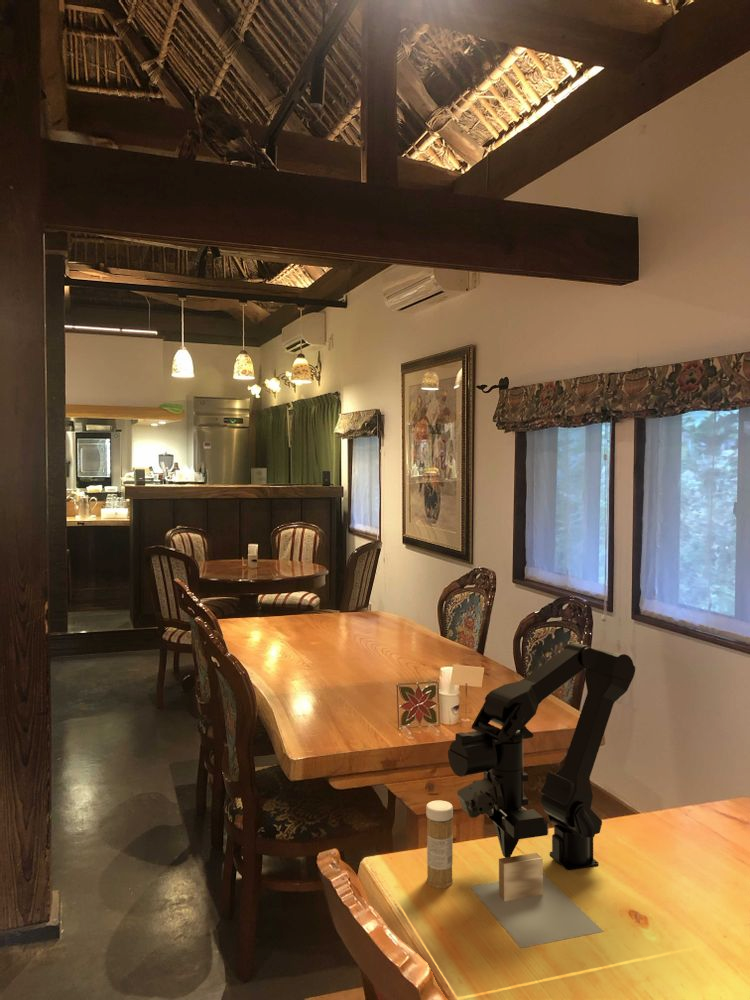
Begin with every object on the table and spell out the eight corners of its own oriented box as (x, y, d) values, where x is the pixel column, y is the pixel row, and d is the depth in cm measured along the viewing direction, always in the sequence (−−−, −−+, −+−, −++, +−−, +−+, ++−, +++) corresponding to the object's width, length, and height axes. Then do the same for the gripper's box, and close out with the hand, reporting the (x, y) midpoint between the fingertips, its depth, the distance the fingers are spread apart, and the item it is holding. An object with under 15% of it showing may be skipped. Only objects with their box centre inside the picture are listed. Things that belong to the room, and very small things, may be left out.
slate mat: (543, 875, 128) (543, 873, 128) (603, 933, 111) (603, 931, 111) (469, 888, 124) (469, 886, 124) (520, 949, 106) (520, 947, 106)
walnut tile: (536, 888, 123) (536, 852, 123) (542, 894, 121) (542, 858, 121) (499, 895, 121) (498, 858, 121) (504, 901, 119) (504, 864, 119)
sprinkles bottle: (437, 873, 129) (437, 797, 129) (458, 882, 125) (458, 804, 126) (421, 883, 125) (420, 804, 125) (442, 893, 122) (441, 812, 122)
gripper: (442, 752, 133) (442, 838, 132) (486, 791, 115) (487, 891, 115) (498, 746, 136) (498, 831, 136) (550, 783, 118) (550, 880, 118)
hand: (506, 856), depth 126 cm, fingers closed
